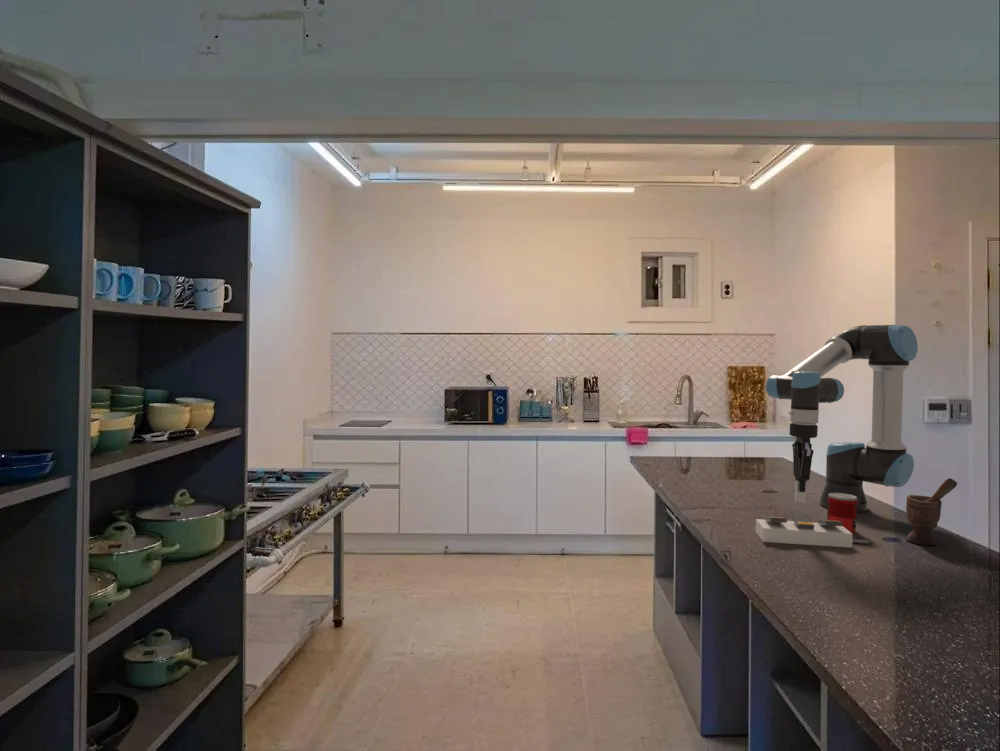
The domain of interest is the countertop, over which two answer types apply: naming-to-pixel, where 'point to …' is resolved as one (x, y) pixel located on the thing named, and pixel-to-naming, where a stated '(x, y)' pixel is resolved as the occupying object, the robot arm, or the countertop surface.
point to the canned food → (843, 509)
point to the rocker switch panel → (805, 534)
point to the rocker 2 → (830, 522)
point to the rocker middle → (802, 521)
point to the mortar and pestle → (926, 513)
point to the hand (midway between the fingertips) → (800, 501)
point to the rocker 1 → (776, 519)
